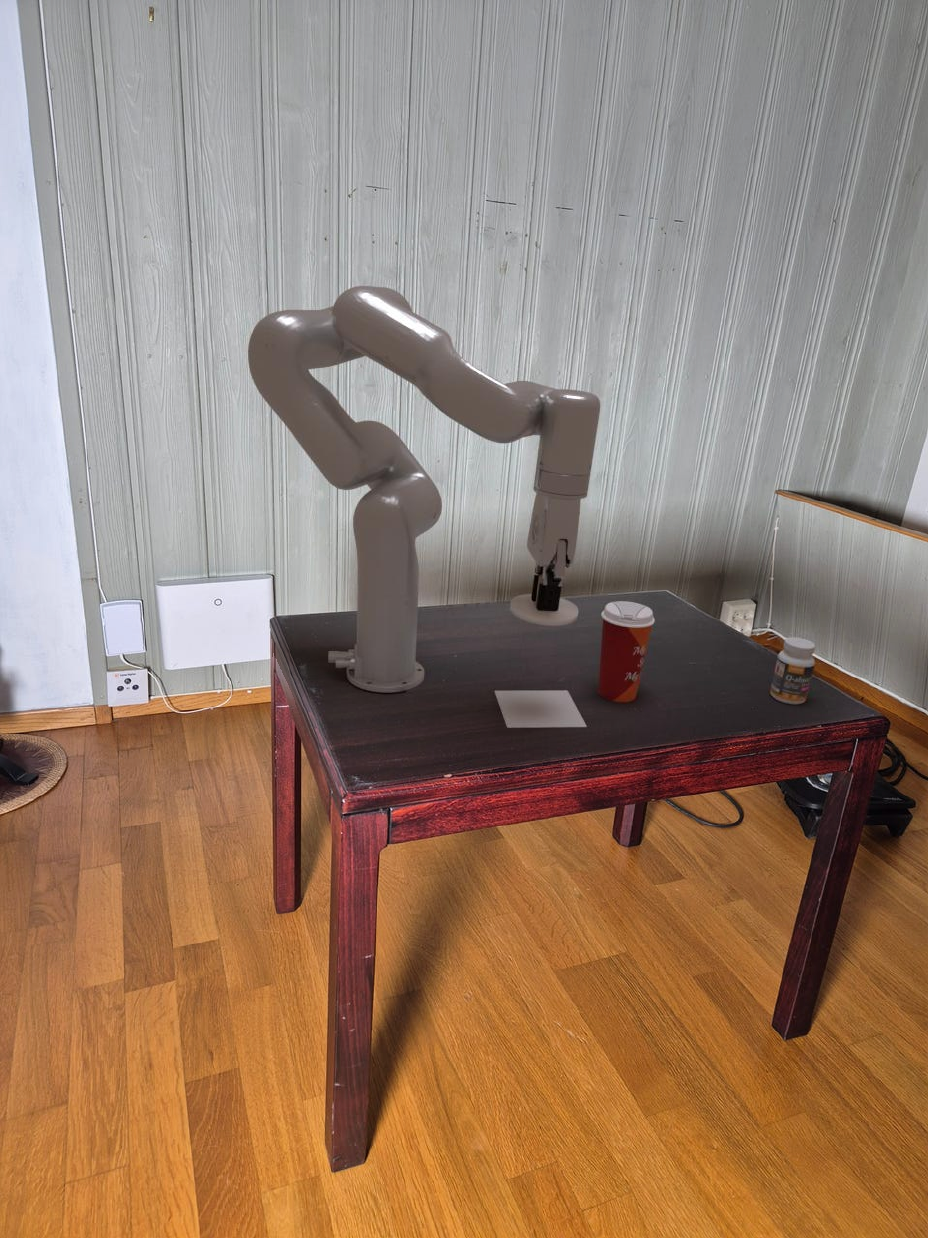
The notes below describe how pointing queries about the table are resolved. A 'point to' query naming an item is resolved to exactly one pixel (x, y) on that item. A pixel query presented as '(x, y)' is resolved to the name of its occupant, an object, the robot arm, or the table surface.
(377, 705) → the table surface
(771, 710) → the table surface
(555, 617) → the lid
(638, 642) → the coffee cup
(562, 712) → the mat
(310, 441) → the robot arm
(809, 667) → the pill bottle
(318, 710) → the table surface
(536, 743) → the table surface
